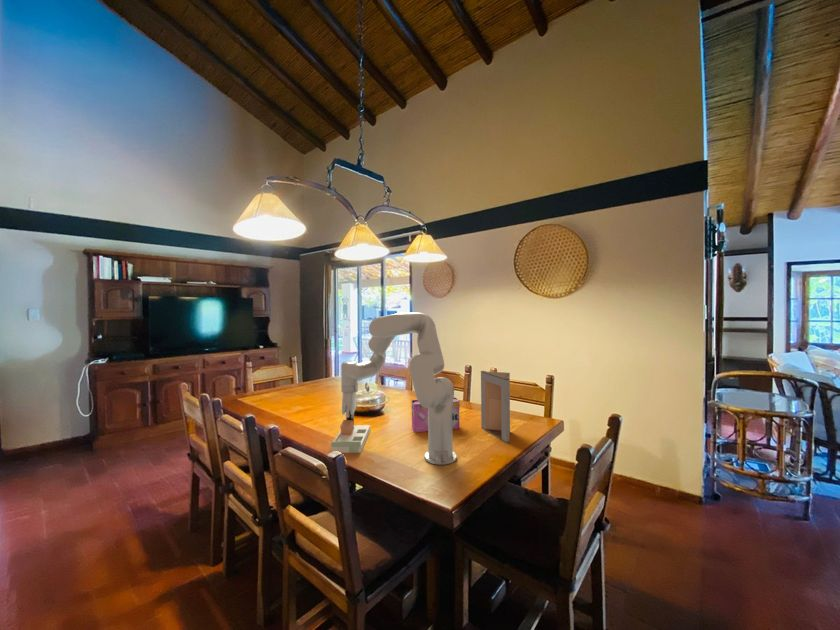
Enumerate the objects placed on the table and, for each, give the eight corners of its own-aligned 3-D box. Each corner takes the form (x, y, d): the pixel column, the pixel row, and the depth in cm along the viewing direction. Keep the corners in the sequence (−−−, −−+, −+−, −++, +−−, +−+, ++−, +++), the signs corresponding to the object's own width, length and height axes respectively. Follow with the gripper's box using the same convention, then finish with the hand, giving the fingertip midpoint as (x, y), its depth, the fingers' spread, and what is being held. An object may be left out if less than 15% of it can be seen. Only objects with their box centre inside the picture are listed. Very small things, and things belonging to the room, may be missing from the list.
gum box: (457, 423, 177) (457, 397, 177) (462, 428, 169) (462, 401, 169) (411, 427, 173) (411, 399, 173) (414, 432, 165) (413, 404, 165)
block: (351, 434, 156) (349, 426, 155) (341, 434, 157) (340, 426, 155) (354, 428, 160) (352, 420, 159) (344, 428, 161) (343, 419, 159)
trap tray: (360, 452, 143) (360, 441, 143) (331, 453, 143) (331, 442, 143) (370, 430, 169) (370, 421, 169) (345, 430, 169) (345, 421, 169)
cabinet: (481, 427, 170) (480, 370, 170) (498, 425, 174) (497, 369, 173) (506, 443, 151) (505, 378, 150) (524, 439, 154) (524, 377, 154)
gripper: (345, 384, 169) (345, 422, 169) (337, 392, 154) (338, 433, 154) (360, 384, 169) (361, 422, 169) (354, 392, 154) (354, 433, 154)
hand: (350, 427), depth 162 cm, fingers closed
